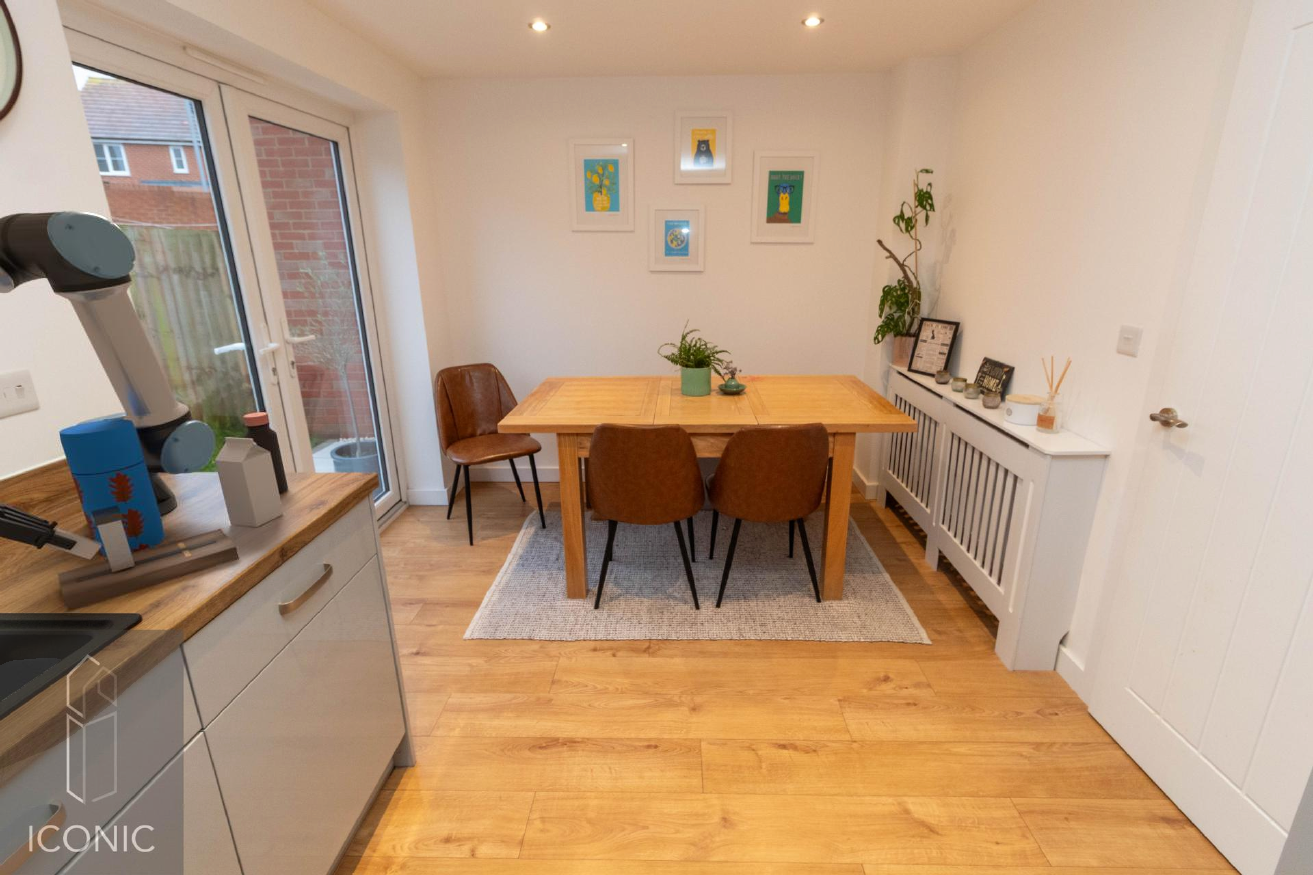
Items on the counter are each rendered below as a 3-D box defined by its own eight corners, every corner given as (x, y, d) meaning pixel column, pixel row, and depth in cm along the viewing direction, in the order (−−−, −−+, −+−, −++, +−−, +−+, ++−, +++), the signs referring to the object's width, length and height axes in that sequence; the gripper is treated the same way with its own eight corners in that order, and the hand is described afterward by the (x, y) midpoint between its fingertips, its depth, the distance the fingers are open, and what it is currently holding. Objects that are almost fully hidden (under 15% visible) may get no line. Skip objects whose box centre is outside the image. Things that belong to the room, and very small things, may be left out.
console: (62, 586, 105) (57, 573, 104) (223, 539, 122) (220, 528, 121) (67, 611, 97) (63, 597, 96) (238, 558, 114) (235, 546, 113)
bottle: (277, 497, 143) (260, 418, 137) (249, 497, 143) (231, 418, 138) (294, 487, 150) (278, 411, 144) (267, 487, 150) (250, 411, 144)
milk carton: (257, 527, 127) (237, 443, 121) (230, 525, 128) (209, 442, 123) (284, 514, 134) (266, 434, 128) (258, 512, 135) (240, 432, 130)
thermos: (108, 561, 113) (68, 437, 106) (88, 548, 119) (49, 429, 111) (175, 539, 122) (142, 423, 115) (154, 528, 128) (121, 416, 120)
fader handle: (107, 564, 106) (90, 511, 103) (133, 557, 109) (117, 505, 106) (110, 573, 103) (93, 518, 100) (137, 565, 106) (121, 512, 103)
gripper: (-109, 499, 89) (76, 558, 105) (-120, 524, 80) (82, 584, 97) (-67, 457, 91) (107, 521, 108) (-74, 477, 83) (116, 543, 99)
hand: (95, 551), depth 102 cm, fingers closed
